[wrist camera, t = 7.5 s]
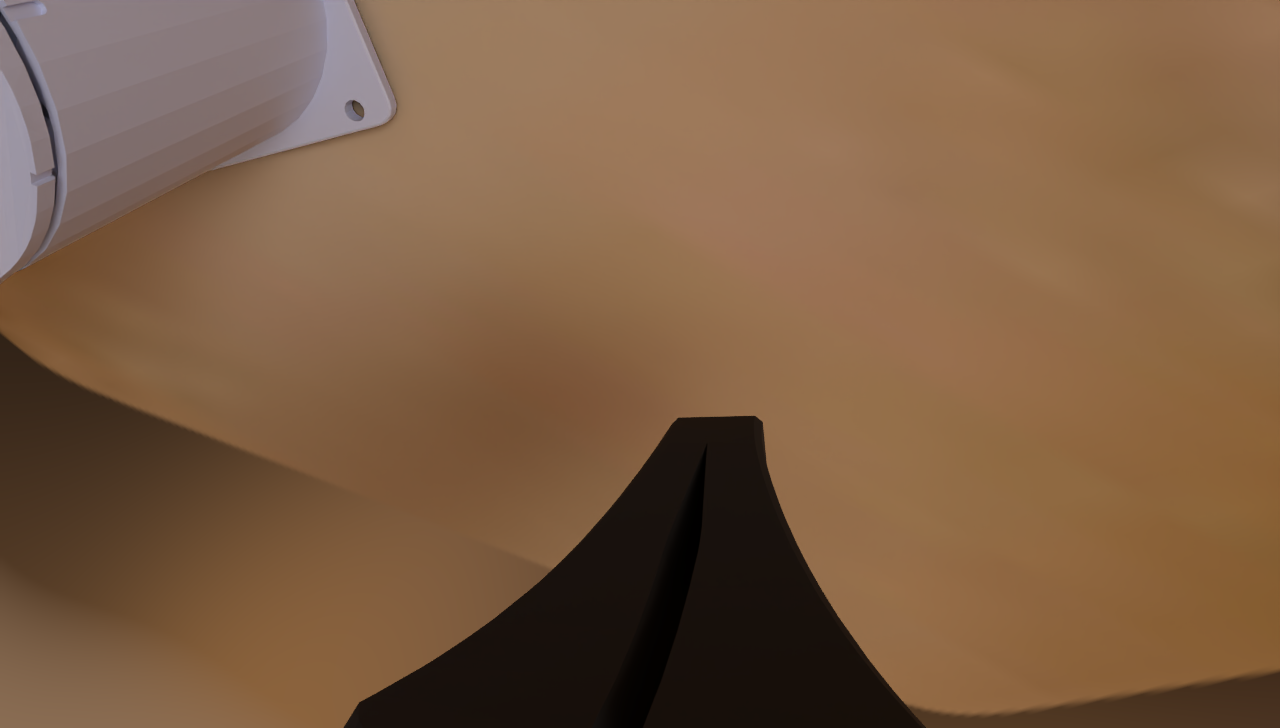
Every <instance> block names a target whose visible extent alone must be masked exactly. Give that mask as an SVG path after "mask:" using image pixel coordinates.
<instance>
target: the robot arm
mask: <svg viewBox="0 0 1280 728" xmlns="http://www.w3.org/2000/svg"><path fill="white" fill-rule="evenodd" d="M353 100H355V101H357V102H359V103H360V104H361V105H362V107H363V108H364V113H365V115H364V117H361V116H359V115H357V114H356V113H355V111H354V110H353V107H352V102H353ZM396 107H397V105H396V101H395V97H394V95H393V93H392V90H391V88H390V85H389V83H388V81H387V78H386V76H385V73H384V71H383V69H382V66H381V64H380V61H379V59H378V57H377V54H376V52H375V50H374V47H373V45H372V42H371V40H370V38H369V35H368V33H367V30H366V28H365V26H364V23H363V21H362V19H361V16H360V14H359V11H358V9H357V7H356V4H355V2H354V0H0V284H1V283H2V282H3V281H5V280H6V279H7V278H8V277H10V276H11V275H12V274H14V273H15V272H17V271H19V270H22V269H24V268H26V267H28V266H30V265H32V264H34V263H36V262H37V261H39V260H41V259H43V258H45V257H47V256H49V255H51V254H53V253H54V252H56V251H58V250H60V249H62V248H64V247H66V246H68V245H69V244H71V243H73V242H75V241H77V240H79V239H81V238H83V237H85V236H86V235H88V234H90V233H92V232H94V231H96V230H98V229H100V228H101V227H103V226H105V225H107V224H109V223H111V222H113V221H115V220H117V219H118V218H120V217H122V216H124V215H126V214H128V213H130V212H132V211H133V210H135V209H137V208H139V207H141V206H143V205H145V204H147V203H149V202H150V201H152V200H154V199H156V198H158V197H160V196H162V195H164V194H165V193H167V192H169V191H171V190H173V189H175V188H177V187H179V186H181V185H182V184H184V183H186V182H188V181H190V180H192V179H194V178H196V177H197V176H199V175H201V174H203V173H205V172H207V171H211V170H215V169H219V168H222V167H226V166H230V165H234V164H237V163H241V162H245V161H249V160H252V159H256V158H260V157H264V156H267V155H271V154H275V153H279V152H282V151H286V150H290V149H294V148H298V147H301V146H305V145H309V144H313V143H316V142H320V141H324V140H328V139H331V138H335V137H339V136H343V135H346V134H350V133H354V132H358V131H361V130H365V129H369V128H373V127H376V126H380V125H382V124H384V123H386V122H388V121H389V120H391V119H392V118H393V116H394V115H395V113H396ZM344 728H926V727H925V726H924V725H923V724H922V723H921V722H920V721H919V720H918V718H917V717H916V716H915V715H914V714H913V713H912V712H911V710H910V709H909V708H908V707H907V706H906V705H905V704H904V702H903V701H902V700H901V699H900V698H899V697H898V695H897V694H896V693H895V692H894V691H893V690H892V688H891V687H890V686H889V685H888V683H887V682H886V681H885V680H884V678H883V677H882V676H881V675H880V673H879V672H878V671H877V670H876V668H875V667H874V666H873V665H872V663H871V662H870V661H869V659H868V658H867V657H866V655H865V654H864V652H863V651H862V650H861V648H860V647H859V645H858V644H857V642H856V641H855V640H854V638H853V637H852V635H851V634H850V633H849V631H848V630H847V628H846V627H845V626H844V624H843V623H842V621H841V620H840V618H839V617H838V616H837V614H836V612H835V611H834V609H833V608H832V606H831V604H830V603H829V601H828V600H827V598H826V596H825V595H824V593H823V591H822V590H821V588H820V586H819V585H818V583H817V581H816V579H815V578H814V576H813V574H812V572H811V570H810V569H809V567H808V565H807V563H806V561H805V559H804V557H803V555H802V553H801V551H800V549H799V547H798V545H797V543H796V541H795V539H794V537H793V534H792V532H791V530H790V528H789V526H788V524H787V521H786V519H785V516H784V514H783V512H782V509H781V506H780V504H779V501H778V498H777V495H776V493H775V490H774V487H773V484H772V481H771V478H770V475H769V471H768V468H767V463H766V453H765V442H764V432H763V422H762V421H761V420H759V419H758V418H757V417H756V416H731V417H691V418H678V419H677V420H676V421H675V422H674V423H673V424H672V425H671V426H670V428H669V429H668V431H667V432H666V434H665V435H664V437H663V438H662V440H661V441H660V443H659V444H658V446H657V447H656V449H655V450H654V452H653V453H652V454H651V456H650V457H649V459H648V460H647V461H646V463H645V464H644V465H643V467H642V468H641V470H640V471H639V472H638V474H637V475H636V476H635V477H634V479H633V480H632V481H631V483H630V484H629V485H628V487H627V488H626V489H625V490H624V492H623V493H622V494H621V496H620V497H619V498H618V499H617V501H616V502H615V503H614V504H613V505H612V507H611V508H610V509H609V510H608V511H607V512H606V514H605V515H604V516H603V517H602V518H601V519H600V520H599V522H598V523H597V524H596V525H595V526H594V527H593V528H592V530H591V531H590V532H589V533H588V534H587V535H586V536H585V537H584V539H583V540H582V541H581V542H580V543H579V544H578V545H577V546H576V547H575V548H574V549H573V550H572V551H571V552H570V553H569V554H568V555H567V556H566V557H565V558H564V559H563V560H562V561H561V562H560V563H559V564H558V565H557V566H556V567H555V568H554V569H553V570H552V571H551V572H549V573H548V574H547V575H546V576H545V577H544V578H543V579H542V580H541V581H540V582H539V583H537V584H536V585H535V586H534V587H533V588H532V589H530V590H529V591H528V592H527V593H525V594H524V595H523V596H522V597H520V598H519V599H518V600H517V601H516V602H514V603H513V604H512V605H511V606H509V607H508V608H507V609H506V610H504V611H503V612H502V613H501V614H499V615H498V616H497V617H496V618H495V619H493V620H492V621H490V622H489V623H488V624H486V625H485V626H483V627H482V628H481V629H479V630H478V631H476V632H475V633H473V634H472V635H471V636H469V637H468V638H466V639H465V640H463V641H462V642H461V643H459V644H457V645H456V646H454V647H453V648H451V649H450V650H448V651H447V652H445V653H444V654H442V655H441V656H439V657H438V658H436V659H435V660H433V661H431V662H430V663H428V664H426V665H425V666H423V667H422V668H420V669H418V670H416V671H415V672H413V673H411V674H409V675H408V676H406V677H404V678H402V679H400V680H399V681H397V682H395V683H394V684H392V685H390V686H388V687H387V688H385V689H383V690H381V691H380V692H378V693H376V694H374V695H372V696H370V697H369V698H367V699H365V700H363V701H361V702H359V704H358V705H357V707H356V709H355V710H354V712H353V714H352V715H351V717H350V718H349V720H348V722H347V723H346V725H345V726H344Z"/></svg>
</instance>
